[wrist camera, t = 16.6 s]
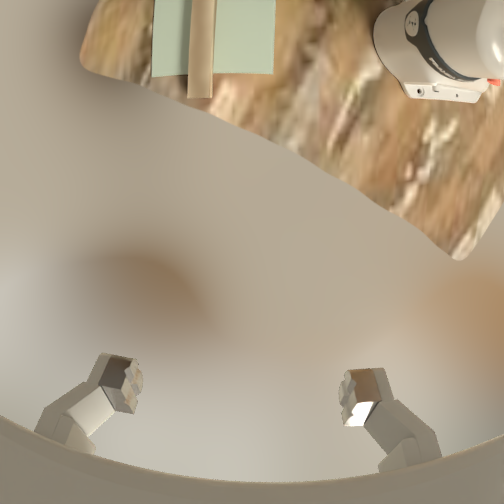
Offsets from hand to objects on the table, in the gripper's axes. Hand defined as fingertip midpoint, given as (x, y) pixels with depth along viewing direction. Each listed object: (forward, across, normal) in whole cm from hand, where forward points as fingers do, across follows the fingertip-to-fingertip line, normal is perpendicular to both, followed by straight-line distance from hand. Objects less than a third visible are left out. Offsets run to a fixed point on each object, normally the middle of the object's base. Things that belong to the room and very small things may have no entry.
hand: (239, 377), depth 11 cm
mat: (+39, +7, -23) cm, 46 cm away
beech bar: (+38, +8, -19) cm, 44 cm away
